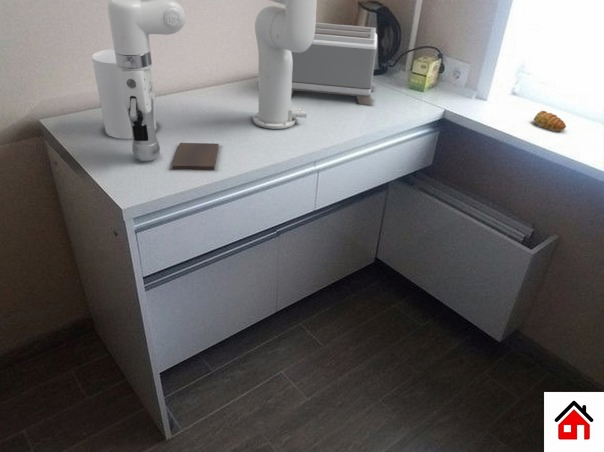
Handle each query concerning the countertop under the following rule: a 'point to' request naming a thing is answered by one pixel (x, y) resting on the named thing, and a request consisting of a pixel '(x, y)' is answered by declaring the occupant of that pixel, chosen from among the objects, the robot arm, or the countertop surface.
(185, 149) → the walnut board
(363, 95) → the toaster
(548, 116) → the pastry
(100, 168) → the countertop surface
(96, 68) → the canister
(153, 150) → the silver bottle
